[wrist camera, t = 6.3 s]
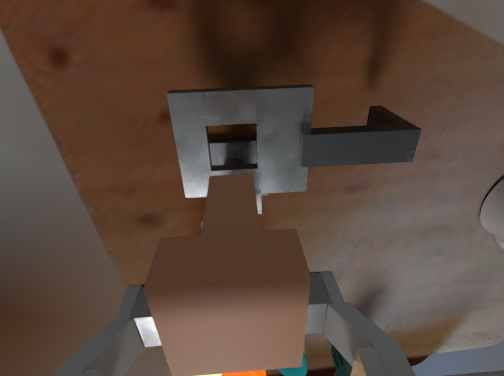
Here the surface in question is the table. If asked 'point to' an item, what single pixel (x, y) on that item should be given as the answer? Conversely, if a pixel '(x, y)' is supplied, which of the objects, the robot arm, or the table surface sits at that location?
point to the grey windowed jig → (276, 137)
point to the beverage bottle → (341, 363)
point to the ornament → (296, 368)
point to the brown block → (230, 289)
